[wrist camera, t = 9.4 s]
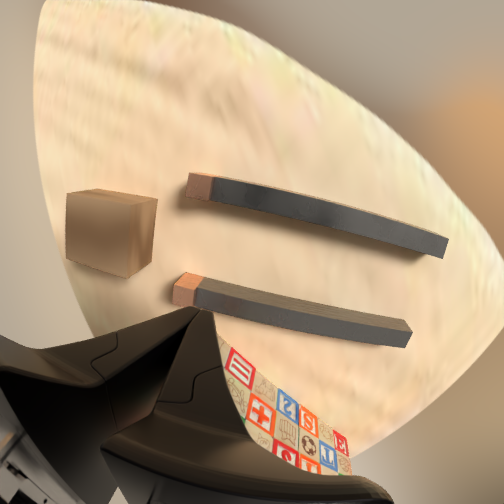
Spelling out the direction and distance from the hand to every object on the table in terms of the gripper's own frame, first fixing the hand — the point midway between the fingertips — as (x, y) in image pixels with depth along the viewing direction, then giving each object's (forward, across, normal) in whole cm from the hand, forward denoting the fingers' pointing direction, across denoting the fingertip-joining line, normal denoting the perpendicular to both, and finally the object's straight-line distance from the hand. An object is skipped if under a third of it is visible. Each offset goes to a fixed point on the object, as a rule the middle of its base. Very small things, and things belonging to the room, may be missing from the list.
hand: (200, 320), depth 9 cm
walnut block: (+11, +10, +1) cm, 15 cm away
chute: (+11, -5, 0) cm, 12 cm away
